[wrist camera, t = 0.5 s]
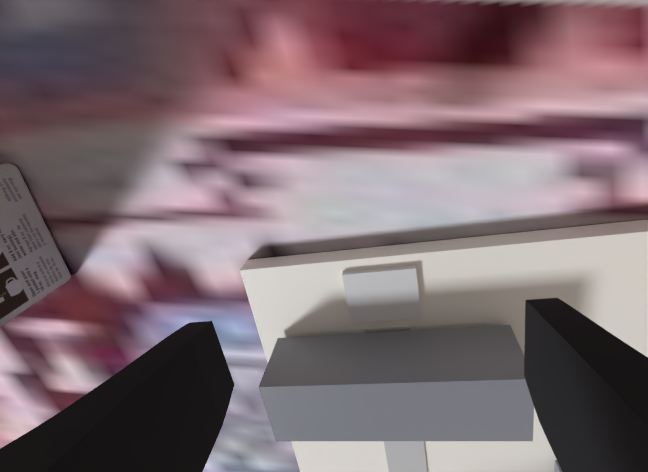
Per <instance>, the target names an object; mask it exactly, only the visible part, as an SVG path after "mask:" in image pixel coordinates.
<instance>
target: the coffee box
mask: <svg viewBox="0 0 648 472" xmlns="http://www.w3.org/2000/svg"><path fill="white" fill-rule="evenodd" d="M70 278H71V275H70V272H69V270H68V268H67V266H66V264H65V262H64V260H63V258H62V256H61V254H60V252H59V250H58V248H57V246H56V244H55V242H54V240H53V238H52V236H51V234H50V232H49V230H48V228H47V226H46V224H45V222H44V220H43V218H42V216H41V214H40V212H39V210H38V208H37V206H36V204H35V202H34V200H33V198H32V196H31V194H30V192H29V190H28V188H27V186H26V184H25V182H24V180H23V178H22V175H21V173H20V171H19V169H18V168H17V167H16V166H14V165H12V164H10V163H5V164H0V327H1V326H3V325H4V324H6V323H7V322H8V321H10V320H11V319H13V318H14V317H16V316H17V315H19V314H20V313H21V312H23V311H24V310H26V309H27V308H29V307H30V306H32V305H33V304H35V303H36V302H38V301H39V300H40V299H42V298H43V297H45V296H46V295H48V294H49V293H51V292H52V291H54V290H55V289H57V288H58V287H60V286H61V285H63V284H64V283H66V282H67V281H68V280H70Z"/></svg>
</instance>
